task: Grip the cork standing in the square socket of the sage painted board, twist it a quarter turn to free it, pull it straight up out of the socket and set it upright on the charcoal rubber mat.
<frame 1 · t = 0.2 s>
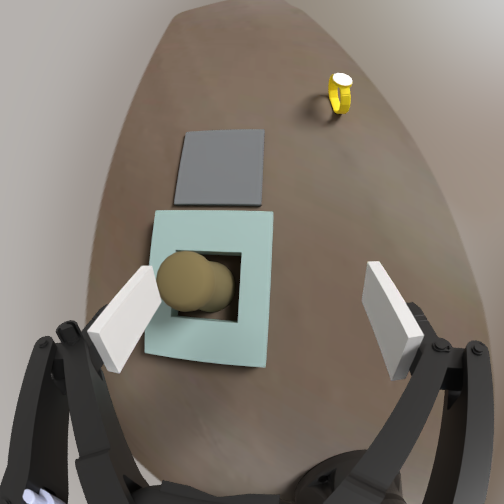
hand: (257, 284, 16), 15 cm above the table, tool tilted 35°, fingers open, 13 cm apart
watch: (335, 105, 35), on the table
rubber mat: (220, 166, 34), on the table
socket board: (210, 286, 32), on the table
cork: (210, 286, 32), resting in socket board
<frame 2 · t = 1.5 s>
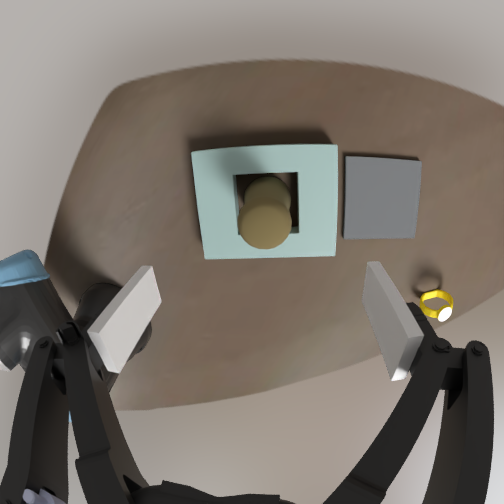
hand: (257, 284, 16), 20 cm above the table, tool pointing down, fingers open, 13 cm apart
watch: (429, 293, 38), on the table
rubber mat: (383, 198, 33), on the table
socket board: (267, 199, 35), on the table
cork: (267, 199, 35), resting in socket board
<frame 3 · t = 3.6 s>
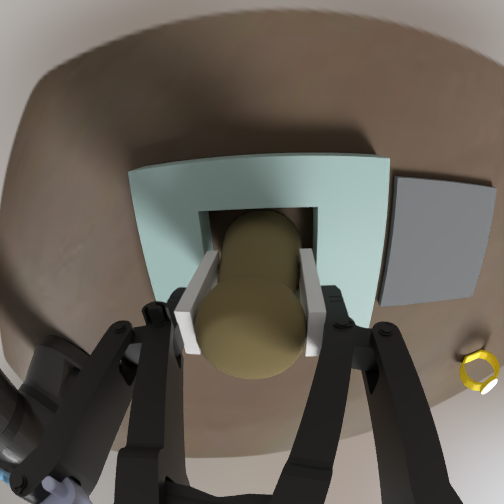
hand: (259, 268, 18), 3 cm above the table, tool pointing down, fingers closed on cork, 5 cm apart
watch: (471, 355, 25), on the table
rubber mat: (442, 244, 19), on the table
socket board: (262, 247, 21), on the table
cork: (262, 247, 21), resting in socket board, touching gripper
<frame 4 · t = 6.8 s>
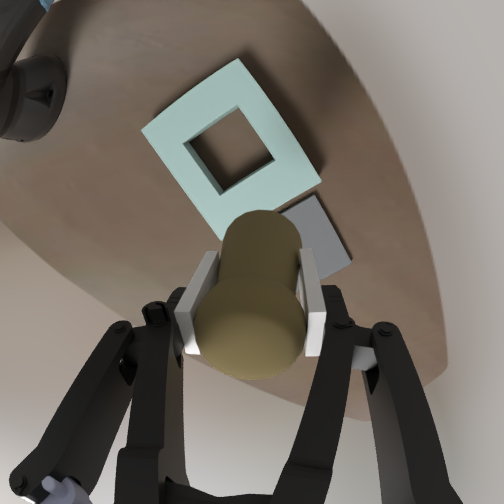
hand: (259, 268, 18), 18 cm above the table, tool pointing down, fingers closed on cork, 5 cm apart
rubber mat: (297, 249, 36), on the table
socket board: (231, 149, 31), on the table
cork: (262, 247, 21), point 14 cm above the table, touching gripper
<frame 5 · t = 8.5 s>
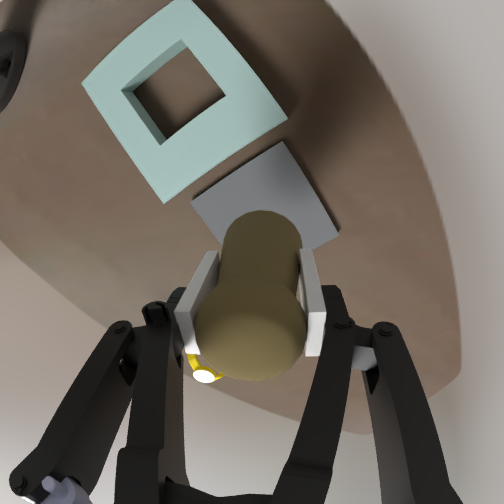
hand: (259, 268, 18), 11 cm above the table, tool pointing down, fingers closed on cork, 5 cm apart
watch: (212, 343, 36), on the table
rubber mat: (265, 216, 28), on the table
socket board: (178, 93, 23), on the table
cork: (262, 247, 21), point 8 cm above the table, touching gripper
when the fingers open (5 cm above the table, at t = 9.8 s): cork drops 1 cm, resting on rubber mat.
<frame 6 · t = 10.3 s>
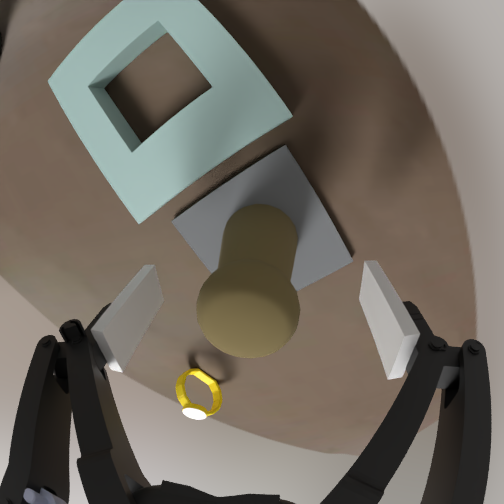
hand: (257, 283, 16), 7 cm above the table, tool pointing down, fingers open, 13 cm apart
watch: (204, 375, 31), on the table
rubber mat: (263, 238, 23), on the table
socket board: (156, 87, 18), on the table
cork: (260, 239, 22), resting on rubber mat
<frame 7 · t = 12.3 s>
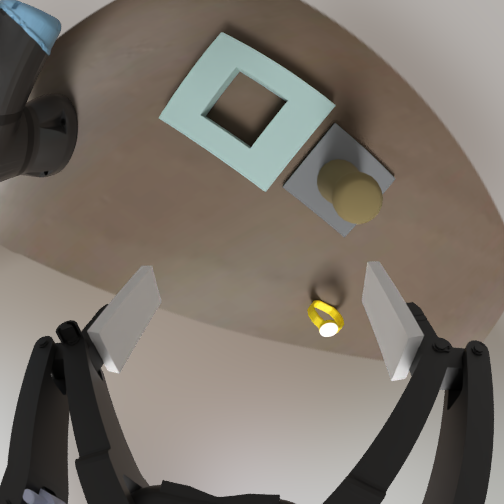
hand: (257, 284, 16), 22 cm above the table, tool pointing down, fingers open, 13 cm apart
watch: (324, 305, 42), on the table
rubber mat: (340, 181, 34), on the table
socket board: (245, 108, 31), on the table
cork: (339, 181, 34), resting on rubber mat
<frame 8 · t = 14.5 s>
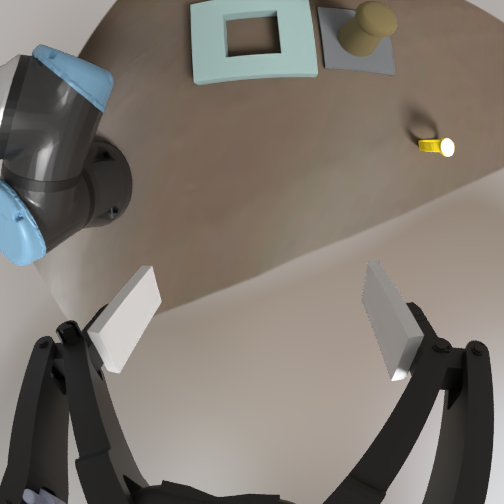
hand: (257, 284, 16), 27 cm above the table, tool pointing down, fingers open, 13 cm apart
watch: (427, 143, 34), on the table
rubber mat: (356, 39, 29), on the table
socket board: (253, 37, 30), on the table
cork: (356, 40, 28), resting on rubber mat
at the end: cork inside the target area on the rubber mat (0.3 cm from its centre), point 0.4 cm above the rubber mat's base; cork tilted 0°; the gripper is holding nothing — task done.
